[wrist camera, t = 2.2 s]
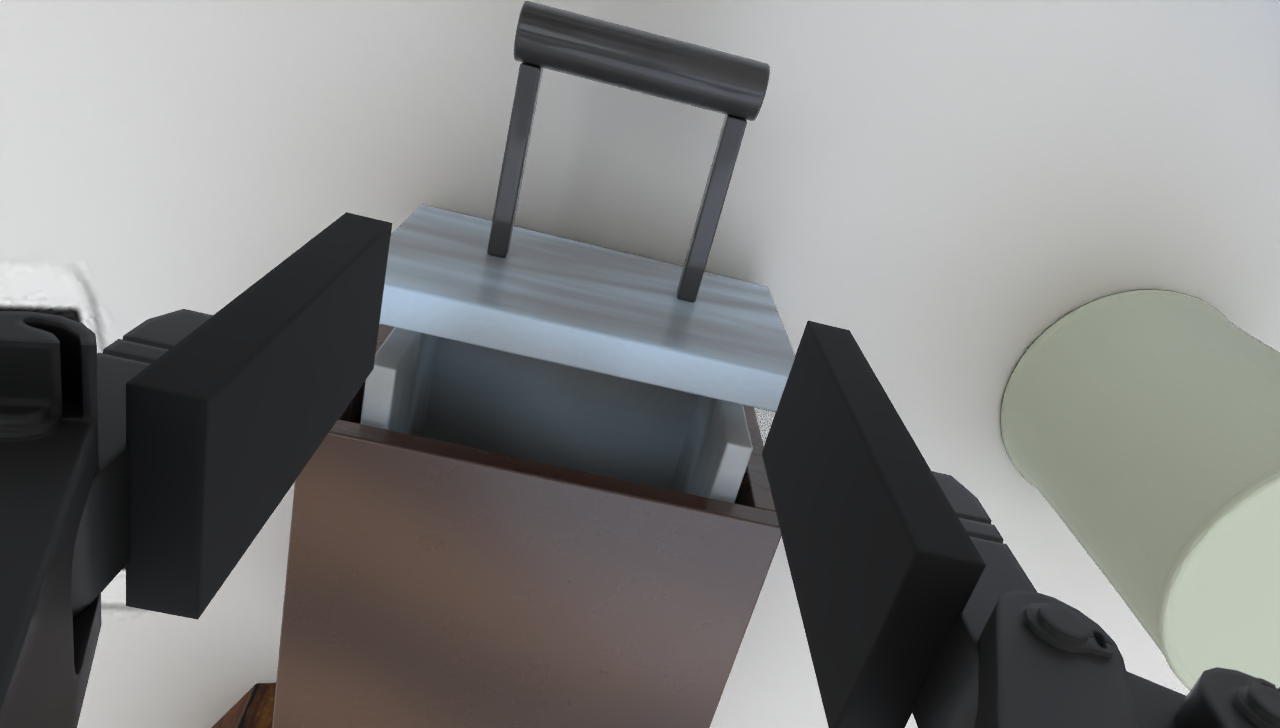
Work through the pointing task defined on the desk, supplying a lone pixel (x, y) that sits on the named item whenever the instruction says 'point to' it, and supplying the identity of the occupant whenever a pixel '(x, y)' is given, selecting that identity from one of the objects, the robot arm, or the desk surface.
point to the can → (1163, 468)
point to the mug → (251, 709)
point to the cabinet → (509, 589)
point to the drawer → (585, 301)
